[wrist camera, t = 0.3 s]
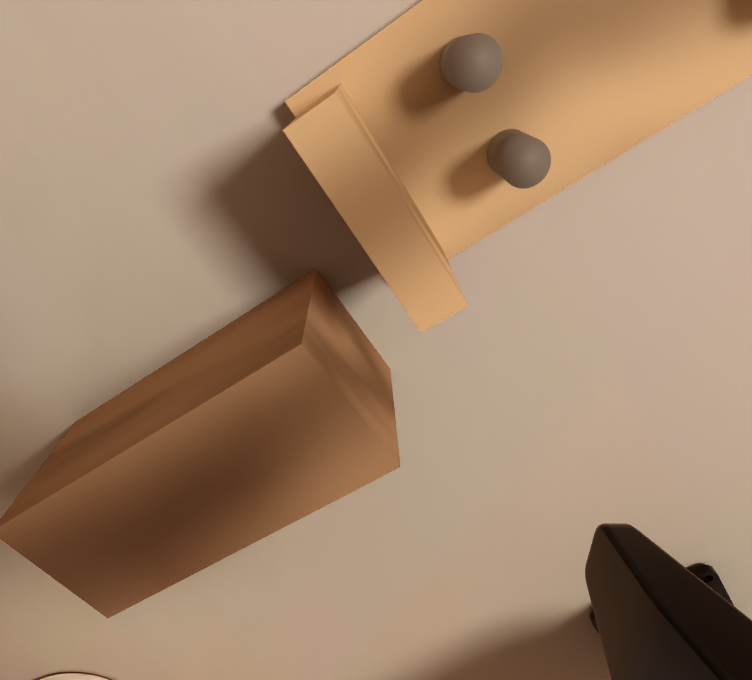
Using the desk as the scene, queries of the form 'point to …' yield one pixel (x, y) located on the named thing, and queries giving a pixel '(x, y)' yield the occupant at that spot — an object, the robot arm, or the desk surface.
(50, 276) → the desk surface
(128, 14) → the desk surface
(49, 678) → the cup
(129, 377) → the desk surface
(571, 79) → the peg frame
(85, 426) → the brown rectangular block
